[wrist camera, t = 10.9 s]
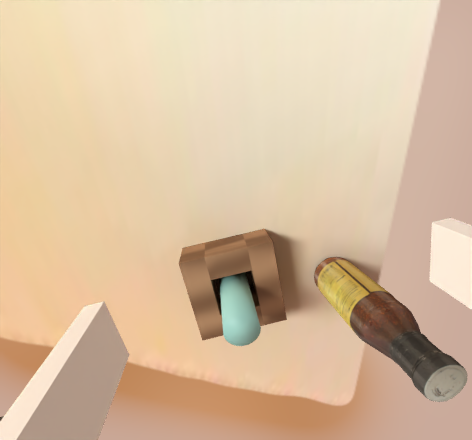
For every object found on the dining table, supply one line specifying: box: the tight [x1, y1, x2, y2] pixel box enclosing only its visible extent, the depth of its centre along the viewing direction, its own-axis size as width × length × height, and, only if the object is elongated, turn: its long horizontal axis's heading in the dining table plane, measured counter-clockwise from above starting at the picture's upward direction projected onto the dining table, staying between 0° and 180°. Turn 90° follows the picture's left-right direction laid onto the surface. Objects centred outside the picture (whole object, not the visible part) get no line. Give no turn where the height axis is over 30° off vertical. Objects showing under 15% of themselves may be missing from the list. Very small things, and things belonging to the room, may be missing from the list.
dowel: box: [219, 272, 261, 346], centre depth 33 cm, size 4×4×12 cm
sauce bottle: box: [314, 257, 467, 402], centre depth 31 cm, size 6×6×20 cm
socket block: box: [179, 229, 287, 340], centre depth 36 cm, size 12×12×5 cm
